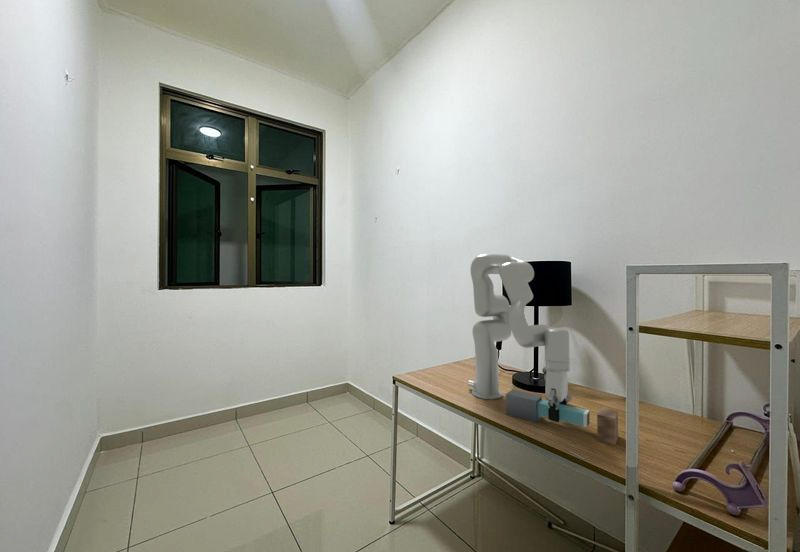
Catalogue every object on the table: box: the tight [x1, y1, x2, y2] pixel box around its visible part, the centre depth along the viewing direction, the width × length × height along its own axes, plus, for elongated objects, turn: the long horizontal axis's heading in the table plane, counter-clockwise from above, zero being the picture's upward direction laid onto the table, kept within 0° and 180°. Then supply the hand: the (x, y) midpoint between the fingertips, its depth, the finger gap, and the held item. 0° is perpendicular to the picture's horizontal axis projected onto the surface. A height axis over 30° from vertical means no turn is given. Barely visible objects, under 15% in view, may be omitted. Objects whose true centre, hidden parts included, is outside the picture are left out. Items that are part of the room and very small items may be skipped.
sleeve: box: [505, 389, 543, 424], centre depth 115 cm, size 11×6×8 cm, turn 50°
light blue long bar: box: [537, 399, 591, 428], centre depth 110 cm, size 24×4×4 cm, turn 50°
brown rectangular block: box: [596, 407, 619, 446], centre depth 99 cm, size 4×7×8 cm, turn 140°
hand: (558, 415), depth 108 cm, fingers open, 9 cm apart
